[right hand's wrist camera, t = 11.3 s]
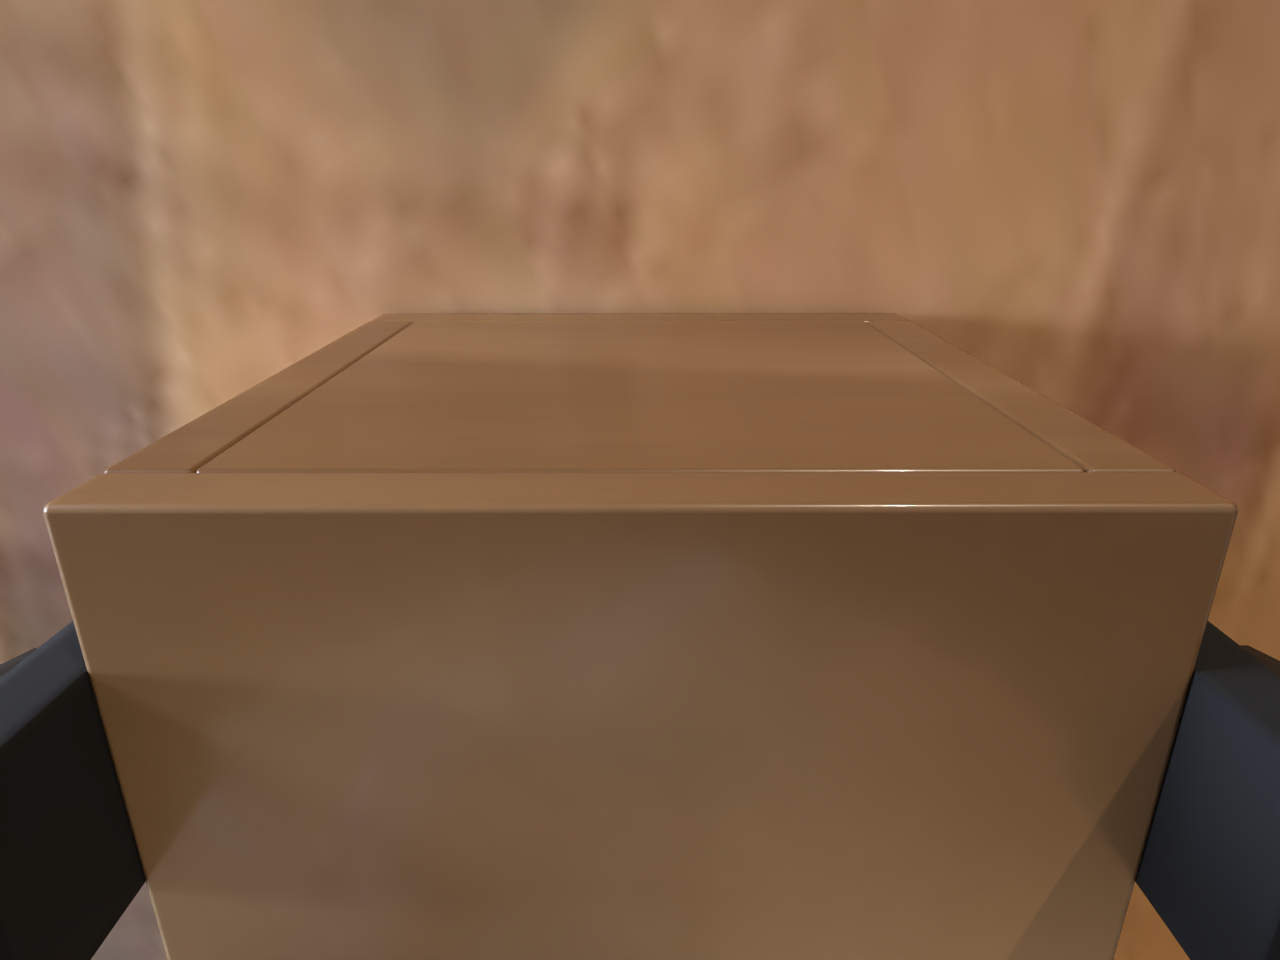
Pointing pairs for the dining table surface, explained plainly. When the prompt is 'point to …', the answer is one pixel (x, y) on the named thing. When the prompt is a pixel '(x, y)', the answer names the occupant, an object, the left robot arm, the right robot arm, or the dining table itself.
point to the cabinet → (640, 647)
